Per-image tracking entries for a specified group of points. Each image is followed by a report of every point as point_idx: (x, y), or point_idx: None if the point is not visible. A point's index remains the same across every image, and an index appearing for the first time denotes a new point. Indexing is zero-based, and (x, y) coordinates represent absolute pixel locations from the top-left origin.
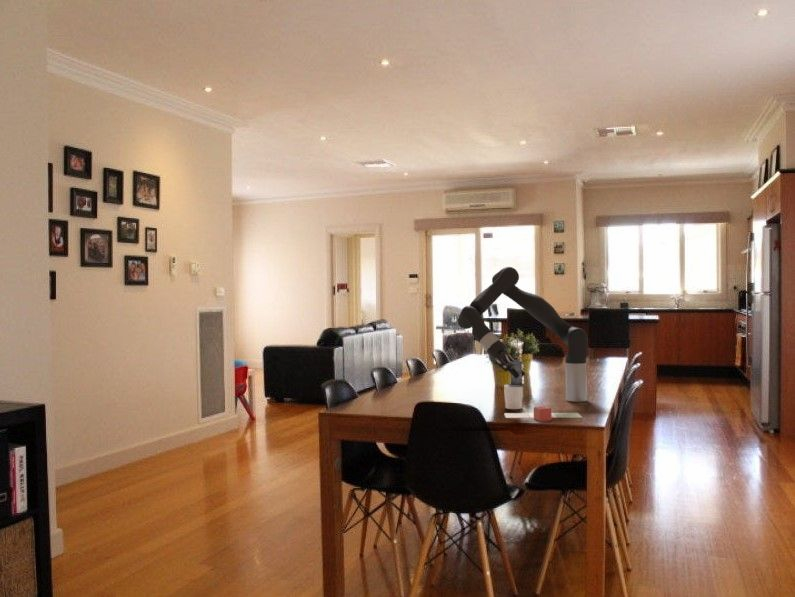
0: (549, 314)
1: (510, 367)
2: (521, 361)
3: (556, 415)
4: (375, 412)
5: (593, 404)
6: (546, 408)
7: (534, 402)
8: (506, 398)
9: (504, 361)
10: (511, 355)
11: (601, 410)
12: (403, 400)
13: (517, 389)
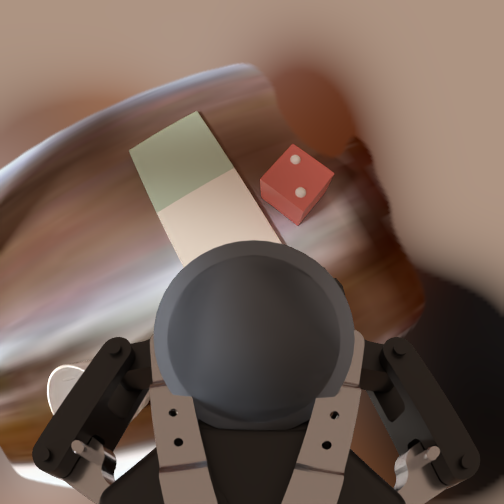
0: None
1: (362, 350)
2: (229, 260)
3: (199, 182)
4: None
5: (11, 187)
6: (305, 156)
7: (22, 347)
8: (135, 414)
9: (352, 457)
10: (61, 475)
11: (72, 131)
12: None
13: None
